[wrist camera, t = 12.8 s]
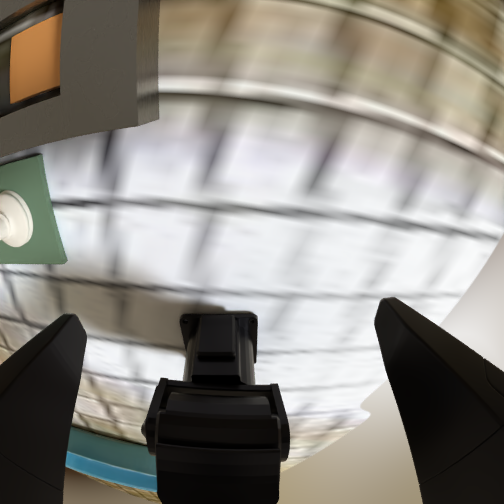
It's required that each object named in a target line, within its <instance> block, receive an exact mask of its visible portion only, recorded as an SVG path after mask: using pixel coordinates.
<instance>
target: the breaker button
mask: <svg viewBox="0 0 504 504" xmlns="http://www.w3.org/2000/svg"><path fill="white" fill-rule="evenodd" d="M62 18H63V13H60V14H58V15H56V16H53V17H51V18H49V19H47V20H45V21H42V22H40V23H38V24H36V25H34V26H32V27H30V28H28V29H26V30H24V31H23V32H21V33H19V34H17V35H15V36H13V37H12V41H11V56H10V104H14V103H19V102H22V101H25V100H27V99H30V98H32V97H35V96H37V95H40V94H43V93H46V92H48V91H51V90H54V89H57V88H60V44H61V29H62Z"/></svg>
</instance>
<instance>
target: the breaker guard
mask: <svg viewBox="0 0 504 504" xmlns="http://www.w3.org/2000/svg"><path fill="white" fill-rule="evenodd" d="M53 1H55V0H0V30H1V29H3V28H4V27H6V26H8V25H9V24H11V23H13V22H14V21H16V20H18V19H20V18H21V17H23V16H25V15H27V14H29V13H31V12H32V11H34V10H36V9H38V8H40V7H42V6H44V5H46V4H49V3H51V2H53ZM159 9H160V0H65V1H64V9H63V18H62V29H61V44H60V96H56V97H53V98H50V99H47V100H44V101H41V102H39V103H36V104H33V105H30V106H28V107H25V108H23V109H20V110H18V111H15V112H13V113H10V114H8V115H6V116H3V117H1V118H0V157H3V156H6V155H9V154H12V153H15V152H18V151H22V150H25V149H28V148H32V147H35V146H39V145H43V144H47V143H51V142H55V141H59V140H63V139H68V138H72V137H77V136H82V135H87V134H92V133H97V132H103V131H109V130H115V129H121V128H128V127H136V126H140V125H143V124H146V123H149V122H152V121H155V120H158V119H159V98H158V32H159Z"/></svg>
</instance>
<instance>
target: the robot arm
mask: <svg viewBox="0 0 504 504" xmlns="http://www.w3.org/2000/svg"><path fill="white" fill-rule="evenodd" d="M251 319H253V320H251ZM185 320H187V321H185ZM374 325H375V330H376V334H377V337H378V341H379V345H380V349H381V354H382V358H383V362H384V366H385V370H386V373H387V376H388V379H389V382H390V385H391V387H392V390H393V394H394V396H395V400H396V403H397V405H398V409H399V412H400V416H401V419H402V422H403V425H404V429H405V432H406V435H407V439H408V443H409V446H410V450H411V454H412V458H413V462H414V466H415V469H416V474H417V477H418V482H419V484H420V485H419V487H420V492H421V497H422V501H423V504H504V372H503V371H502V370H500V369H499V368H497V367H496V366H495V365H493V364H492V363H490V362H489V361H488V360H486V359H483V357H482V356H481V355H479V354H478V353H476V352H475V351H474V350H472V349H470V348H469V347H468V346H467V345H465V344H464V343H462V342H461V341H459V340H458V339H456V338H455V337H453V336H452V335H451V334H449V333H448V332H446V331H445V330H443V329H442V328H441V327H439V326H438V325H436V324H435V323H433V322H432V321H430V320H429V319H427V318H426V317H424V316H423V315H421V314H420V313H418V312H417V311H415V310H414V309H412V308H411V307H409V306H408V305H406V304H405V303H403V302H402V301H400V300H398V299H397V298H395V297H389V298H383V299H381V301H380V303H379V306H378V310H377V313H376V316H375V320H374ZM180 326H181V331H182V335H183V340H184V344H185V349H186V360H185V367H184V375H183V381H178V380H168V378H160V381H159V384H158V386H156V389H155V392H154V395H153V398H152V401H151V404H150V408H149V411H148V414H147V417H146V419H145V421H144V423H143V425H142V427H141V432H142V434H143V435H144V436H145V438H146V441H147V448H148V452H149V454H150V455H151V456H155V458H156V477H157V495H158V497H159V499H160V500H161V502H162V504H277V502H278V500H279V481H280V464H281V462H284V461H286V460H287V458H288V455H289V449H290V430H289V423H288V419H287V415H286V412H285V408H284V404H283V401H282V397H281V394H280V390H279V386H278V384H270V385H255V372H254V364H255V363H256V356H257V329H258V318H257V316H256V315H255V314H183V315H181V317H180ZM86 342H87V335H86V332H85V330H84V328H83V326H82V324H81V322H80V320H79V318H78V317H77V316H76V315H75V314H68V313H66V314H63V315H62V316H60V317H59V318H58V319H56V320H55V321H54V322H52V323H51V324H50V325H49V326H47V327H46V328H45V329H43V330H42V331H41V332H40V333H38V334H37V335H36V336H35V337H33V338H32V339H31V340H30V341H28V342H27V343H26V344H25V345H24V346H22V347H21V348H20V349H19V350H17V351H16V352H15V353H14V354H13V355H11V356H10V357H9V358H8V359H7V360H6V361H4V362H3V363H2V364H1V365H0V504H63V488H64V476H65V466H66V457H67V450H68V443H69V436H70V430H71V424H72V419H73V413H74V408H75V403H76V399H77V394H78V389H79V385H80V379H81V373H82V366H83V360H84V354H85V348H86Z"/></svg>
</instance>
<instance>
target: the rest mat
mask: <svg viewBox="0 0 504 504" xmlns="http://www.w3.org/2000/svg"><path fill="white" fill-rule="evenodd" d="M6 190H10V191H13V192H15V193H17V194H18V195H20V196H21V197H22V198H23V200H24V201H25V202H26V204H27V206H28V208H29V210H30V213H31V216H32V220H33V232H32V236H31V238H30V240H29V241H28V242H27V243H25V244H24V245H22V246H20V247H12V246H10V245H8V244H6V243H5V242H4V241H3V240H0V264H65V263H66V261H67V257H66V254H65V251H64V248H63V245H62V241H61V238H60V235H59V231H58V227H57V224H56V220H55V216H54V212H53V208H52V204H51V199H50V195H49V190H48V185H47V180H46V175H45V169H44V163H43V157H42V154H40V155H36V156H32V157H29V158H25V159H21V160H18V161H14V162H11V163H7V164H4V165H1V166H0V193H1V192H3V191H6Z"/></svg>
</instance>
